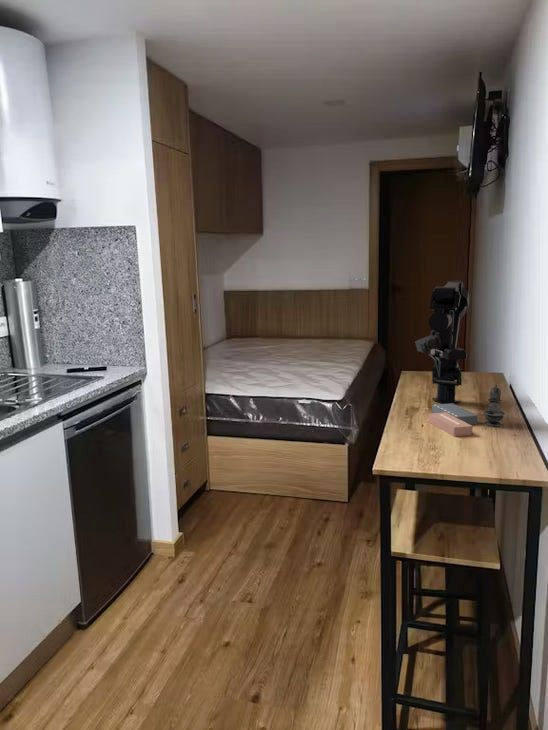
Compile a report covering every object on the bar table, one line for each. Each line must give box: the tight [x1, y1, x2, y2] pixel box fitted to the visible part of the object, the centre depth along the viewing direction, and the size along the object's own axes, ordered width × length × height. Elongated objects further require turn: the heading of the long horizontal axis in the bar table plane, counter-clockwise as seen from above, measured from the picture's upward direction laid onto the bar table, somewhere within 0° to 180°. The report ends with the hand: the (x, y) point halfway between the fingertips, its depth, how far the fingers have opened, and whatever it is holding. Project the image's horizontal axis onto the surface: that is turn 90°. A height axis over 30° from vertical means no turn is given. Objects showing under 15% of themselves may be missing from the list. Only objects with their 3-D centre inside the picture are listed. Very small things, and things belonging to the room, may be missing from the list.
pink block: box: [428, 412, 474, 437], centre depth 160 cm, size 14×6×3 cm, turn 13°
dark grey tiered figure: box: [483, 384, 506, 428], centre depth 163 cm, size 6×6×12 cm
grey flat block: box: [431, 403, 479, 425], centre depth 170 cm, size 14×7×3 cm, turn 13°
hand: (440, 377), depth 176 cm, fingers closed
